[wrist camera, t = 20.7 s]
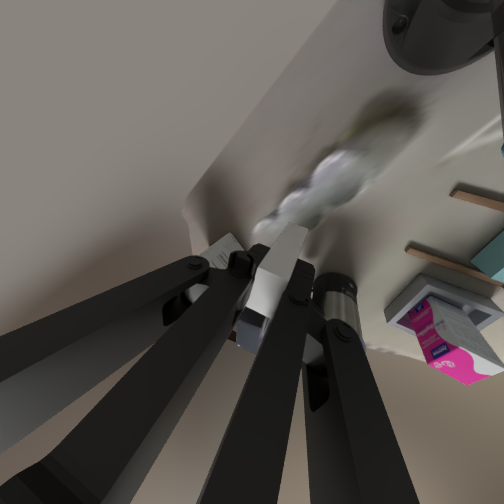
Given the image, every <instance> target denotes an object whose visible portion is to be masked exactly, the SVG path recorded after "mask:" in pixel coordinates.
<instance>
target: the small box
mask: <svg viewBox="0 0 504 504" xmlns="http://www.w3.org/2000/svg"><path fill="white" fill-rule="evenodd" d="M269 320H270V318H268V317H266V316H264V315H262V314H260V313H258V312H256V311H254V310H252V309H250V308H248V307H245V309H244V310H243V312H242V314H241V316H240V318H239V319H238V321H237V339H236V346H238V347H240V348H242V349H245V350H247V351H250V352H252V353H254V354H257V352H258V350H259V347H260V345H261V342H262V340H263V338H264V334H265V332H266V330H267V328H268V325H269Z"/></svg>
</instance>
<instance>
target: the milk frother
mask: <svg viewBox="0 0 504 504" xmlns="http://www.w3.org/2000/svg"><path fill="white" fill-rule="evenodd" d="M311 292H313V297H312V299H311V297H310V300H311V302H312V307H313V308H314V310H315V311H316V312H317V313H318V314H319V315H321V316H322V317H323V318H325V319H326V320H327V321H328V320H330V319H333V318H335V319H340V320H342V321H345V322H346V323H348V324H349V325H350V326H352V328H353V329H354V330H355V331H356V332H357V334H358V336H359V338H360V340H361V343H362V346H363V349H364V351H365V352H366V346H365V343H364V341H363V338H362V331H361V325H360V318H359V312H358V306H357V297H356V296H357V287H356V285H355V283H354V282H353V281H352V280H351V279H350V278H349V277H347V276H345V275H343V274H339V273H326V274H323V275H321V276H319V277H318V278H317V279H316V280H315V281H314V283H313V289H312V291H311Z"/></svg>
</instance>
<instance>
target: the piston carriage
mask: <svg viewBox="0 0 504 504" xmlns="http://www.w3.org/2000/svg"><path fill="white" fill-rule="evenodd" d="M470 262H472V263H473V264H474V265H475V266H476V267H478V268H479V269H480V270H481V271H482V272H484V273H485V274H486V275H487V276H488V277H490V278H491V279H494V280H497V281H500V282H502V283H504V230H503V231H502V232H501V233H500V234H499V235H498V236H497V237H496V238H495V239H494V240H492V241H491V242H490V243H489V244H488V245H487V246H486V247H485V248H484V249H483V250H481V251H480V252H479V253H478V254H477V255H476V256H475V257H474V258H473V259H472V260H470Z"/></svg>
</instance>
